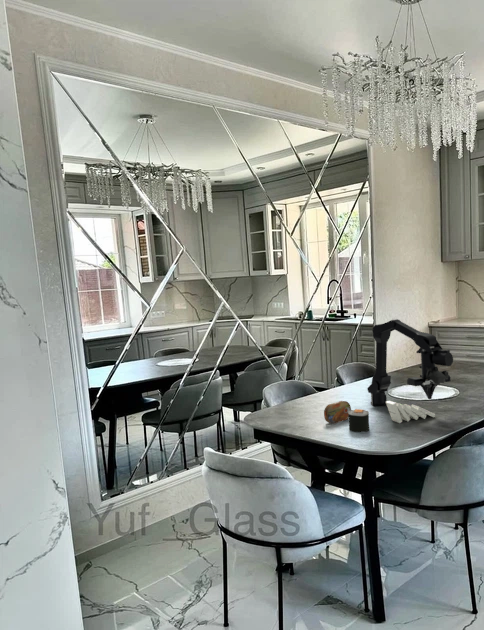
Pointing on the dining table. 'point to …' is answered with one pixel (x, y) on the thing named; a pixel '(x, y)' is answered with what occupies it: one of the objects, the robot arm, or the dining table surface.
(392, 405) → the domino
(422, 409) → the domino
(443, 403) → the dining table surface
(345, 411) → the tin
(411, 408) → the domino
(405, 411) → the domino
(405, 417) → the domino
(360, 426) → the sushi
